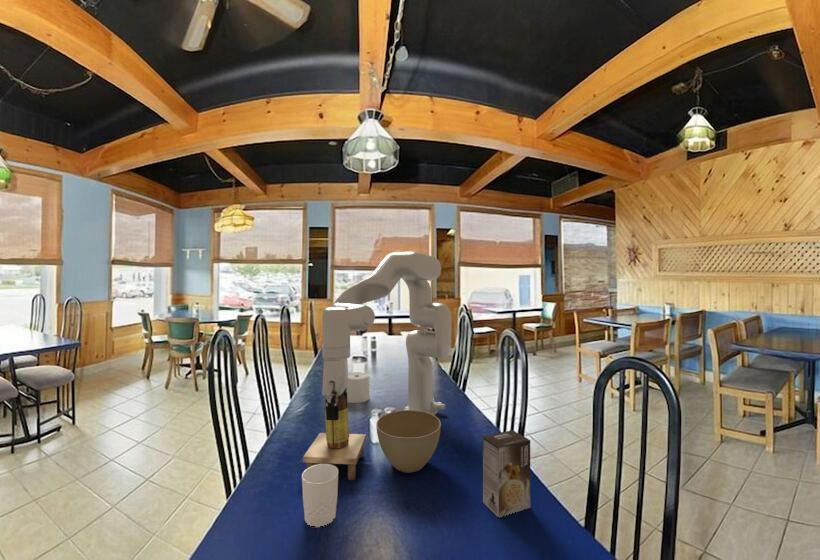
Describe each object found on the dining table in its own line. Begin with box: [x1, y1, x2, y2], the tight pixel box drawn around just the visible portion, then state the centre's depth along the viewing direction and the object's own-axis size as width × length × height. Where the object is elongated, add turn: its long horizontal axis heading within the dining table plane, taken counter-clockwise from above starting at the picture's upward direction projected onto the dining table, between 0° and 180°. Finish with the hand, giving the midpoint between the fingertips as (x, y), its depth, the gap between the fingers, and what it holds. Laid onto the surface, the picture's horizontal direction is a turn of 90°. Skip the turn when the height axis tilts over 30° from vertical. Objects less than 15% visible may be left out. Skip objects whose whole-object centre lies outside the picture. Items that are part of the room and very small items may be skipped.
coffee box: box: [482, 429, 531, 519], centre depth 85 cm, size 9×6×16 cm
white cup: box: [301, 463, 339, 528], centre depth 81 cm, size 8×8×10 cm
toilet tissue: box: [347, 371, 370, 404], centre depth 155 cm, size 11×12×10 cm
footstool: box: [302, 432, 367, 481], centre depth 102 cm, size 14×14×6 cm
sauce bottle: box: [324, 386, 350, 449], centre depth 102 cm, size 6×6×20 cm
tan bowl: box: [375, 409, 442, 474], centre depth 103 cm, size 18×18×12 cm
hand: (337, 412), depth 102 cm, fingers open, 9 cm apart
